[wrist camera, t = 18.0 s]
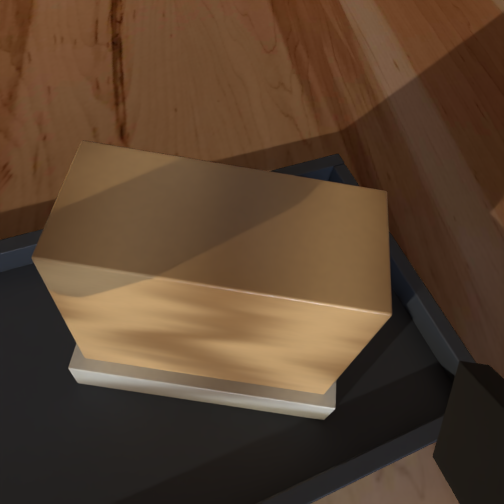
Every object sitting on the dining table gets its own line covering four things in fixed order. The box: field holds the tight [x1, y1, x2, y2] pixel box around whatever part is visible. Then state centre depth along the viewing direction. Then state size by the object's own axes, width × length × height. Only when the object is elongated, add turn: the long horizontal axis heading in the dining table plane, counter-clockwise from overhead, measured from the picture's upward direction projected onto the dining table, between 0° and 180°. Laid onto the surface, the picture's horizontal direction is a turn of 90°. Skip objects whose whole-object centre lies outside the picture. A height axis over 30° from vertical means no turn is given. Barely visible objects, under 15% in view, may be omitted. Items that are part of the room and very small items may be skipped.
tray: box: [0, 154, 476, 504], centre depth 22 cm, size 16×28×2 cm, turn 113°
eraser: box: [32, 140, 392, 420], centre depth 19 cm, size 11×6×10 cm, turn 83°
